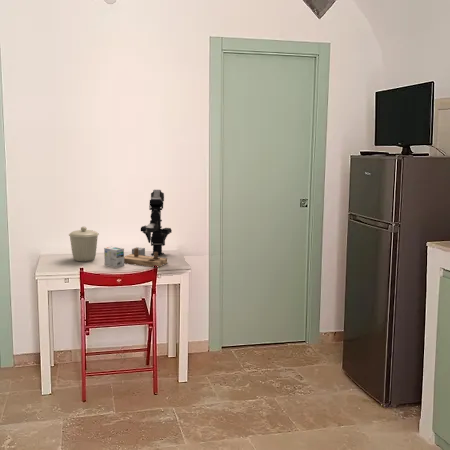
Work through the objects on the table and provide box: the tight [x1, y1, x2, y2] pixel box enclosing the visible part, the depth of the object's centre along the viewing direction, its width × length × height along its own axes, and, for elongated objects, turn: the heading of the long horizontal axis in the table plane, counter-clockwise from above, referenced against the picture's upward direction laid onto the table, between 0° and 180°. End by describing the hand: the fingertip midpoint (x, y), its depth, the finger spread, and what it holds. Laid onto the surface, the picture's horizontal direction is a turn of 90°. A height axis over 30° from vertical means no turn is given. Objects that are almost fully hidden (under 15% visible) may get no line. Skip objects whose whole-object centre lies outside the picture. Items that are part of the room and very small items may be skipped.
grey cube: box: [131, 246, 146, 256], centre depth 377 cm, size 6×6×6 cm
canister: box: [68, 226, 100, 262], centre depth 368 cm, size 18×18×21 cm
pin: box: [153, 252, 159, 260], centre depth 364 cm, size 3×3×7 cm
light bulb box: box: [103, 245, 125, 268], centre depth 357 cm, size 11×7×11 cm, turn 56°
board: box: [124, 247, 168, 268], centre depth 364 cm, size 12×26×8 cm, turn 67°
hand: (156, 243), depth 362 cm, fingers open, 9 cm apart
